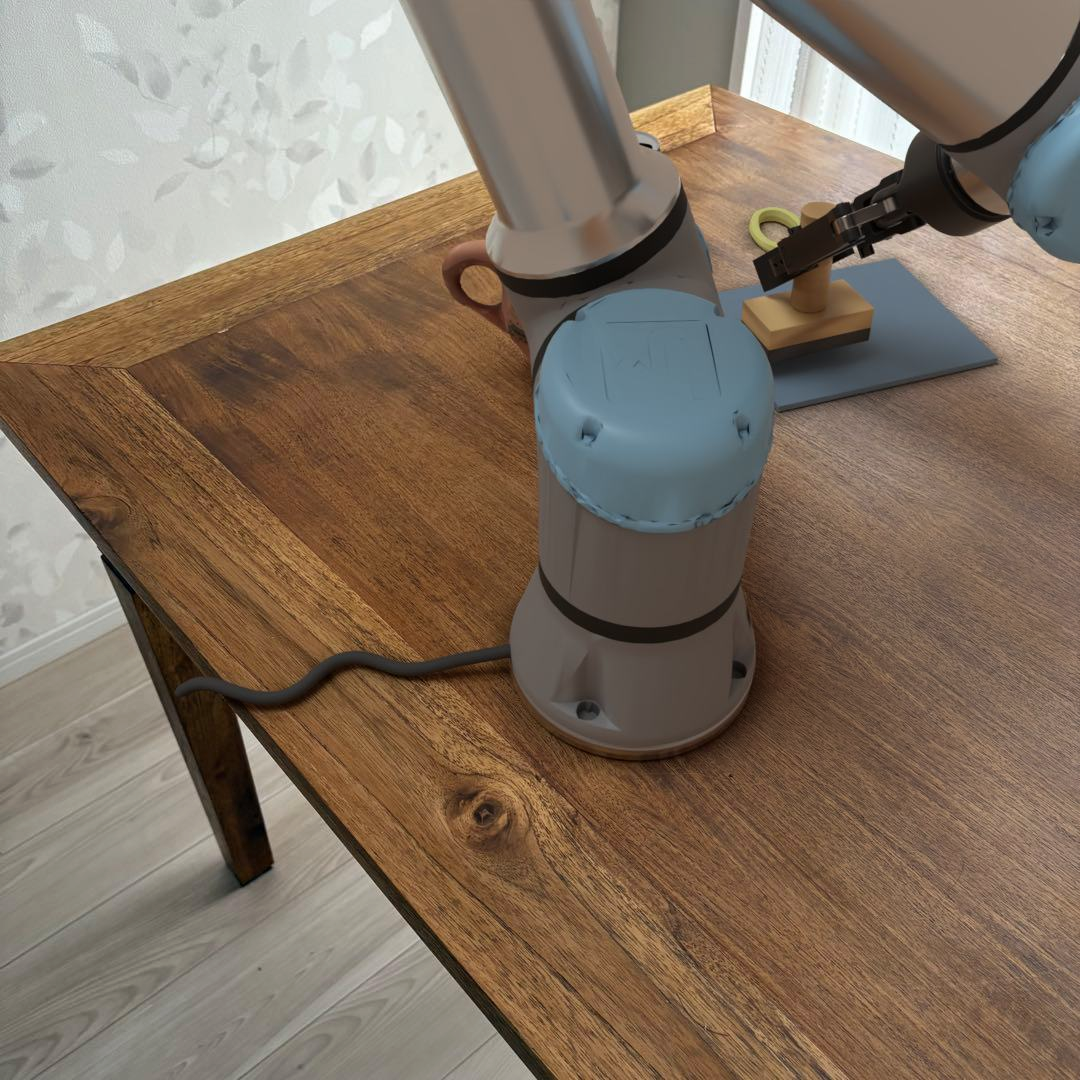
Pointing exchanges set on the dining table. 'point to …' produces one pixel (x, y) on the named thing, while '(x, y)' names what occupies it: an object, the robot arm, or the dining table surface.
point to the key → (770, 215)
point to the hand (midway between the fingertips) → (779, 268)
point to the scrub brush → (809, 310)
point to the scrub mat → (874, 340)
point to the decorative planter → (495, 314)
